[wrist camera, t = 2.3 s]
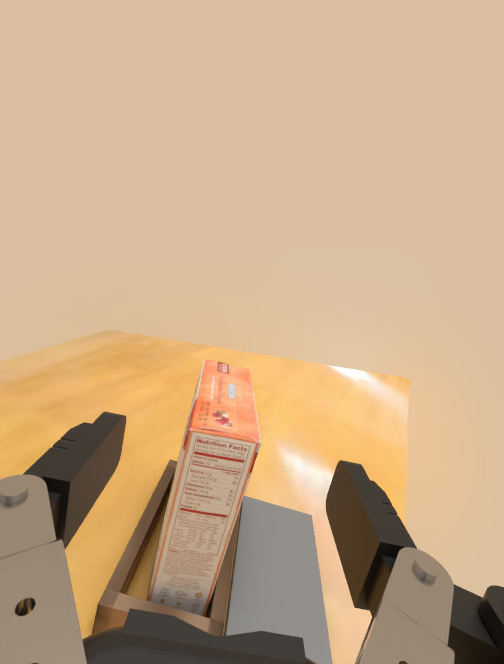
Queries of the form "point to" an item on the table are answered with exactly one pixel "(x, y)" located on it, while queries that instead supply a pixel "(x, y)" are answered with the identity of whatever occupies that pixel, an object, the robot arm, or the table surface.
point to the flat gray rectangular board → (278, 578)
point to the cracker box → (206, 488)
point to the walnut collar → (114, 597)
